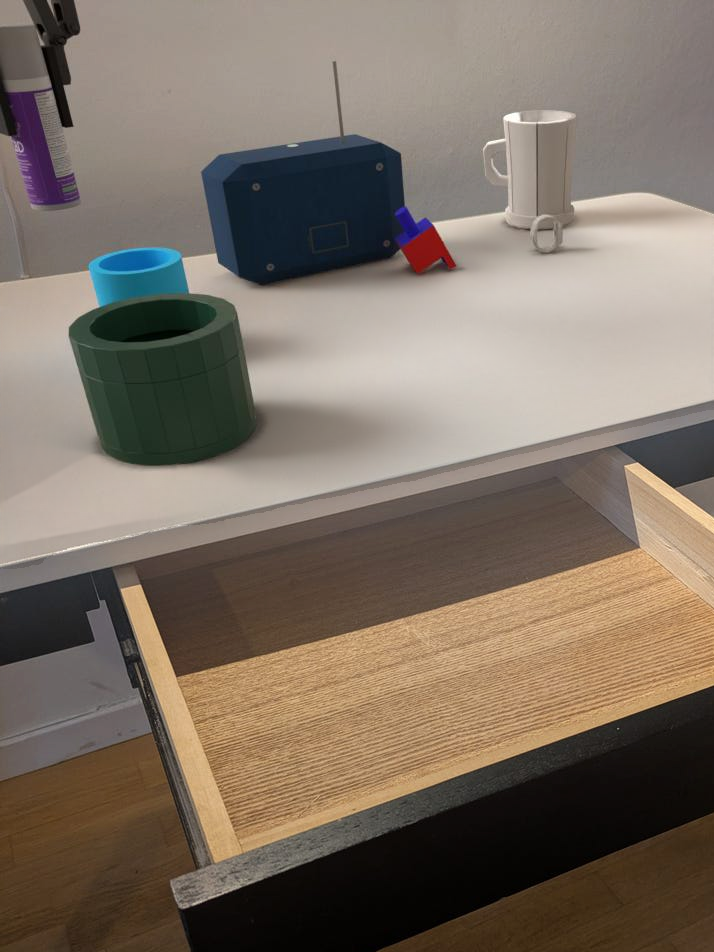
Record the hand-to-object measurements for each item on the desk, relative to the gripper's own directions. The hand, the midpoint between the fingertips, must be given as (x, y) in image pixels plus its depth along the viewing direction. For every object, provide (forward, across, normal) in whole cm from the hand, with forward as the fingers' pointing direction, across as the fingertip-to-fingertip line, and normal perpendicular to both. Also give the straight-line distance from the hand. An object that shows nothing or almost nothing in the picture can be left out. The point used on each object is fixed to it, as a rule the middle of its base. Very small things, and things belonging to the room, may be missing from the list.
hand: (36, 129), depth 92 cm
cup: (+17, +56, -11) cm, 59 cm away
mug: (+17, 0, -14) cm, 22 cm away
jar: (+17, -7, -34) cm, 39 cm away
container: (+7, 0, 0) cm, 7 cm away
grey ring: (+17, +48, -21) cm, 55 cm away
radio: (+17, +26, -4) cm, 32 cm away
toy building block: (+17, +34, -15) cm, 41 cm away
